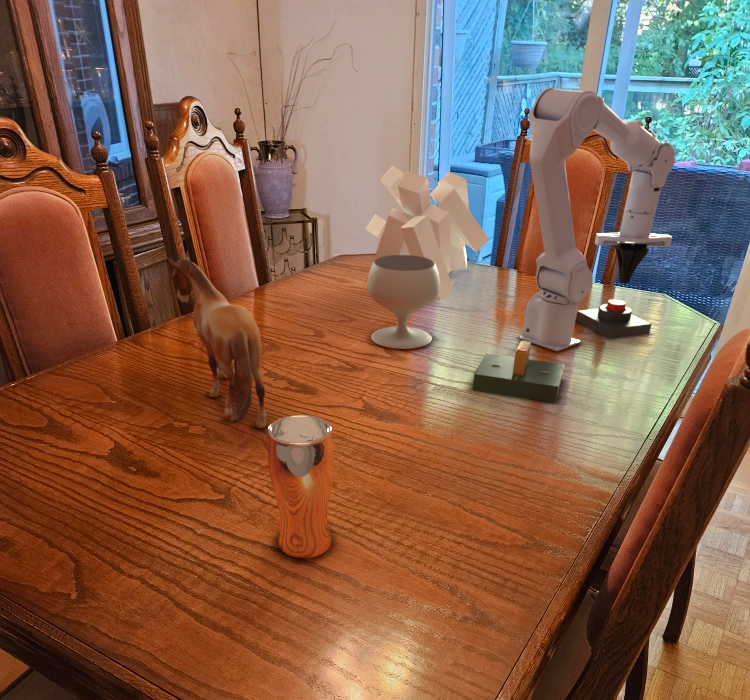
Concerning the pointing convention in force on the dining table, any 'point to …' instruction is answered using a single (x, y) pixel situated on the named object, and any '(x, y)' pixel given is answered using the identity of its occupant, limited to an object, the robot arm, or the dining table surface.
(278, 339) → the dining table surface
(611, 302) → the red button
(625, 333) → the switch block
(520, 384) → the switch panel
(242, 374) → the horse figurine
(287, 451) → the beer glass
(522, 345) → the upright orange tab
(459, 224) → the pile of blocks
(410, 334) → the chalice
